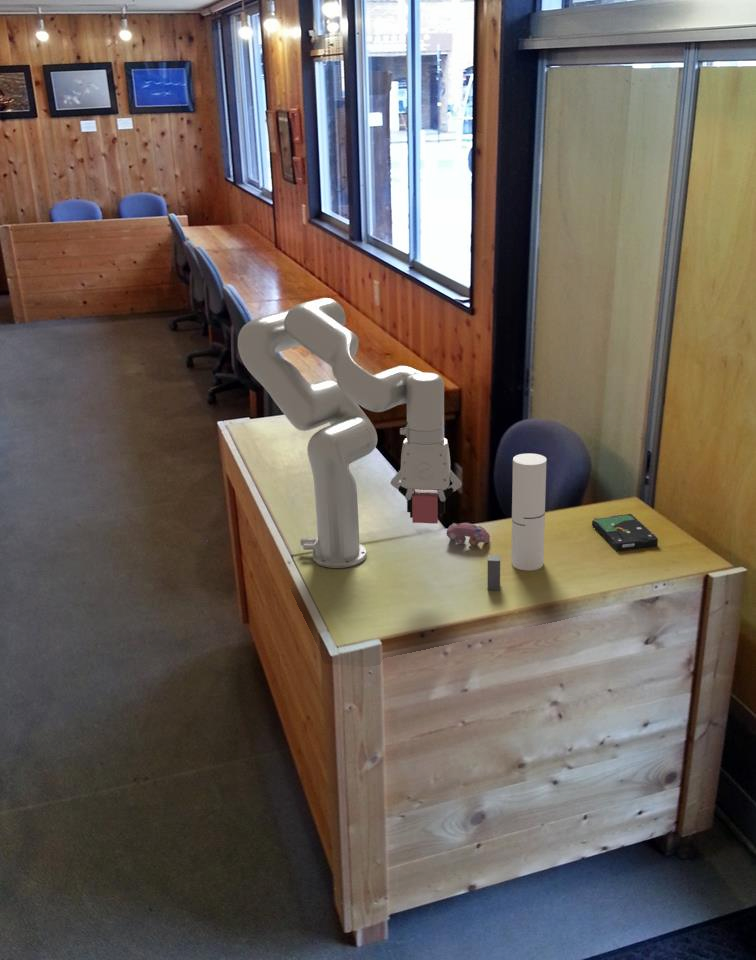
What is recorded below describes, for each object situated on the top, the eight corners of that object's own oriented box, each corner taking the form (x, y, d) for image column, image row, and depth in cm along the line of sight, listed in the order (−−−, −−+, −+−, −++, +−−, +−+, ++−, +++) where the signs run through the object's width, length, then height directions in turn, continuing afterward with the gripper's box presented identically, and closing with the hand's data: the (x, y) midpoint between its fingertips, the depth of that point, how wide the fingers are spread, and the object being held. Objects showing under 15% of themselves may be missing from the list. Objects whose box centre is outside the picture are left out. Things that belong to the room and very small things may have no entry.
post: (487, 589, 198) (487, 560, 196) (488, 584, 201) (488, 555, 198) (499, 590, 198) (500, 560, 195) (500, 584, 200) (500, 555, 198)
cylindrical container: (542, 571, 205) (545, 465, 196) (510, 569, 207) (511, 464, 198) (543, 557, 212) (547, 453, 203) (512, 555, 213) (514, 452, 204)
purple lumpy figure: (447, 548, 221) (443, 530, 216) (451, 533, 224) (447, 515, 219) (487, 553, 218) (484, 534, 213) (491, 538, 221) (488, 519, 216)
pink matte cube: (412, 522, 194) (412, 496, 192) (415, 512, 199) (415, 486, 196) (437, 523, 193) (437, 496, 191) (439, 513, 198) (439, 487, 196)
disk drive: (658, 549, 215) (630, 523, 228) (659, 538, 214) (631, 512, 227) (616, 554, 213) (590, 527, 227) (617, 543, 212) (591, 517, 226)
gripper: (381, 439, 187) (383, 521, 194) (466, 441, 184) (465, 524, 191) (386, 427, 194) (388, 507, 200) (468, 429, 191) (468, 510, 198)
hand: (426, 514), depth 196 cm, fingers closed on pink matte cube, 5 cm apart
